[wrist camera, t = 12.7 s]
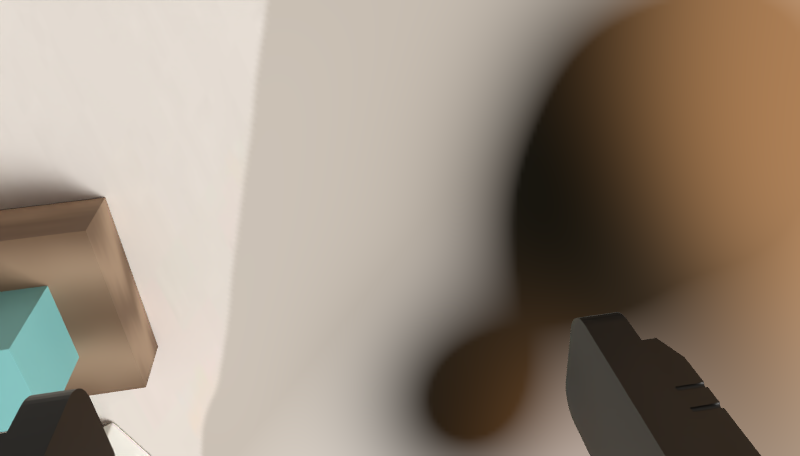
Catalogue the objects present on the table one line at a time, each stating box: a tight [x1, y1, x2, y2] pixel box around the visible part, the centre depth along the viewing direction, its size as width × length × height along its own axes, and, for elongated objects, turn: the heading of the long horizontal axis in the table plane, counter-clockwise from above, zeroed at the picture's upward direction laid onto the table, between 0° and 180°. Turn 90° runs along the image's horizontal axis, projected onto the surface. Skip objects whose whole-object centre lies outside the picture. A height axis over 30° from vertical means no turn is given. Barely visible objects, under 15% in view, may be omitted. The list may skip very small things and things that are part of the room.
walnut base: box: [0, 198, 158, 395], centre depth 39 cm, size 12×12×4 cm
